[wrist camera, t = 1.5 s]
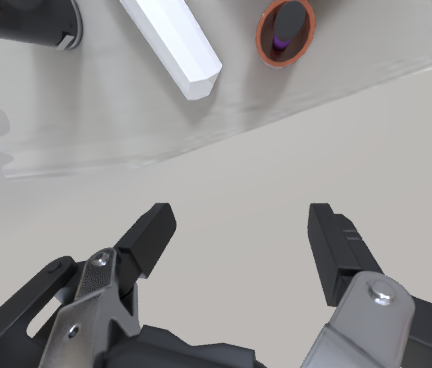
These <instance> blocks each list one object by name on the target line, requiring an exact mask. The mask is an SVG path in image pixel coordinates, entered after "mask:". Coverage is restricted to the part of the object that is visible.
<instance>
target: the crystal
mask: <svg viewBox="0 0 432 368" xmlns="http://www.w3.org/2000/svg"><path fill="white" fill-rule="evenodd" d="M119 1H120V2H121V4H122V5H123V7H124V8H125V9H126V11H127V12H128V14H129V15H130V17H131V18H132V20H133V21H134V23H135V24H136V25H137V27H138V28H139V30H140V31H141V33H142V34H143V36H144V37H145V39H146V40H147V41H148V43H149V44H150V46H151V47H152V49H153V50H154V52H155V53H156V55H157V56H158V57H159V59H160V60H161V62H162V63H163V65H164V66H165V68H166V69H167V71H168V72H169V73H170V75H171V76H172V78H173V79H174V81H175V82H176V84H177V85H178V87H179V88H180V89H181V91H182V92H183V94H184V95H185V97H186V98H187V100H197V99H200V98H203V97H205V96H208V95H209V94H210V91H211V89H212V87H213V85H214V83H215V81H216V79H217V77H218V74H219V72H220V70H221V68H222V64H221V62H220V61H219V59H218V57H217V56H216V54H215V52H214V50H213V49H212V47H211V45H210V44H209V42H208V40H207V39H206V37H205V35H204V33H203V32H202V30H201V28H200V27H199V25H198V23H197V21H196V20H195V18H194V16H193V15H192V13H191V11H190V10H189V8H188V6H187V4H186V3H185V1H184V0H119Z"/></svg>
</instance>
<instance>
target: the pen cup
mask: <svg viewBox="0 0 432 368" xmlns="http://www.w3.org/2000/svg"><path fill="white" fill-rule="evenodd" d="M289 1H293V0H276V1H274V2H273V3H271V5H270V6H269V7H268V8H267V9H266V11H265V12H264V13H263V15H262V17H261V19H260V22H259V24H258V26H257V32H256V46H257V50H258V54H259V58H260V60H261V61H262V63H263V64H264V65H265V66H267V67H268V68H271V69H282V68H285V67H287V66H289V65H291V64H292V63H294V62H296V61H297V60H298V59H299V58H300V57H301V56H302V55H303V54H304V53H305V52H306V50H307V48H308V47H309V45H310V43H311V41H312V39H313V34H314V30H315V15H314V10H313V9H312V7H311V5H310V4H309V2H308V1H307V0H296V1H299V2H301V3H302V5H303V6H304V8H305V21H304V24H303V26H302V28H301V29H300V31H299V32H298V33H297V35H296V36H295V37H294V38H293V39H292V40H291V42H290V43H289V45H288V46H287V48H286V49H285V50H284V51H282V52H276V51H275V50H274V49H273V47H272V42H273V37H274V32H275V31H274V28H275V22H276V17H277V14H278V12H279V10H280V9H281V7H282V6H283V5H284V4H285V3H287V2H289Z"/></svg>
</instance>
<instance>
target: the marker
mask: <svg viewBox="0 0 432 368" xmlns="http://www.w3.org/2000/svg"><path fill="white" fill-rule="evenodd" d="M304 21H305V8H304V6H303V5H302V3H301V2H299V1H296V0H293V1H289V2H287V3H285V4H284V5H283V6H282V7H281V9H280V10H279V12H278V14H277V17H276V22H275V28H274V31H275V32H274V37H273V42H272V47H273V49H274V50H275V51H276V52H282V51H284V50H285V49H286V48H287V46H288V45H289V43H290V42H291V40H292V39H293V38H294V37H295V36H296V35H297V33H298V32H299V31H300V29H301V28H302V26H303V24H304Z"/></svg>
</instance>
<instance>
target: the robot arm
mask: <svg viewBox="0 0 432 368" xmlns="http://www.w3.org/2000/svg"><path fill="white" fill-rule="evenodd" d="M81 36H82V21H81V16H80V12H79V9H78V6H77V4H76V2H75V0H0V39H6V40H12V41H18V42H25V43H31V44H37V45H43V46H50V47H56V49H55V50H60V51H63V49H64V50H71V49H74V48H75V47H76V46H77V45H78V44H79V42H80V40H81ZM175 230H176V220H175V217H174V214H173V212H172V209H171V206H170V204H169V203H156V204H154V206H153V207H152V208H151V209H150V210H149V211H148V212H146V213H145V214H144V215H142V216H141V217H140V218H139V219H138V220H137V221H136V223H135V224H134V225H133V226H132V227H131V228H130V229H129V230H128V231H127V232H126V233H125V235H124V236H123V237H122V238H121V239H120V240H119V241H118V242H117V243H116V245H115V246H114V247H113V248H105V249H102V250H100V251H98V252H96V253H95V254H94V255H92V256H91V257H90V258H89V259H88V260H87V261H82V262H77V263H76V262H75V261H74V260H73V259H72V257H70V256H63V257H60V258H58V259H56V260H54V261H52V262H51V263H49V264H48V265H47V266H45V267H44V268H43V269H42V270H41V271H40V272H39V273H37V275H35V276H34V277H33V278H32V279H31V280H30V281H29V282H28V283H26V284H25V285H24V286H23V287H22V288H21V289H20V290H18V291H17V292H16V293H15V294H14V295H13V296H12V297H11V298H10V299H8V300H7V301H6V302H5V303H4V304H3V305H2V306H1V307H0V368H267V367H266V366H264V365H263V364H262V363H260V362H258V361H257V360H256V357H255V350H252V349H248V348H243V347H239V346H235V345H230V344H226V343H217V344H208V345H199V346H190V345H188V344H187V343H185V342H184V341H183V340H181V339H180V338H178V337H177V336H175V335H174V334H172V333H171V332H170V331H168V330H165V329H161V328H157V327H152V326H148V325H143V327H142V329H141V328H140V326H139V320H138V289H137V283H136V281H137V279H138V278H144V279H147V278H148V277H149V275H150V273H151V271H152V270H153V268H154V266H155V265H156V263H157V261H158V259H159V258H160V256H161V254H162V252H163V251H164V249H165V248H166V246H167V244H168V243H169V241H170V239H171V237H172V236H173V234H174V232H175ZM308 238H309V242H310V245H311V249H312V252H313V256H314V259H315V263H316V267H317V270H318V274H319V277H320V281H321V284H322V288H323V292H324V295H325V299H326V302H327V305H328V306H332V307H337V308H336V310H335V312H334V314H333V316H332V317H331V319H330V321H329V322H328V323H326V324H325V325H324V327H323V328H322V330H321V332H320V333H319V335H318V337H317V339H316V340H315V342H314V344H313V345H312V347H311V349H310V351H309V353H308V354H307V356H306V358H305V360H304V362H303V363H302V365H301V367H300V368H400V367H402V368H432V303H430V302H427V301H424V300H421V299H419V298H416V297H414V296H412V295H410V294H409V293H408V291H407V290H406V289H405V288H404V287H403V286H402V285H400V284H399V283H398V282H396V281H395V280H393V279H392V278H390V277H388V276H385V274H384V273H383V271H382V270H381V268H380V267H379V265H378V264H377V262H376V260H375V259H374V257H373V256H372V254H371V252H370V250H369V249H368V247H367V246H366V244H365V242H364V241H362V237H361V236H360V234H359V233H358V232H357V230H356V228H355V226H354V225H353V223H352V222H351V221H350V220H349V219H348V218H346V217H345V216H344V215H342V214H334V213H333V211H332V209H331V207H330V205H329V204H328V203H311V204H310V209H309V218H308ZM53 296H55V297H56V298H57V299H58V300H59V301H60V302H61V303H62V304H61V305H60V307H59V308H58V309H57V310H56V311H55V312H54V313H53V315H52V316H51V317H50V318H49V320H48V321H47V322H46V323H45V324H44V325H43V326H42V328H41V329H40V330H39V331H38V332H37V333H36V335H35V336H34V337H33V338H31V337H29V336H28V335H27V333H26V330H27V327H28V325H29V323H30V321H31V320H32V319H33V318H34V317H35V316H36V315H37V314H38V313H39V312H40V311H41V309H42V308H43V307H44V306H45V305H46V304H47V303H48V302H49V301H50V300H51V299H52V298H53Z"/></svg>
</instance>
